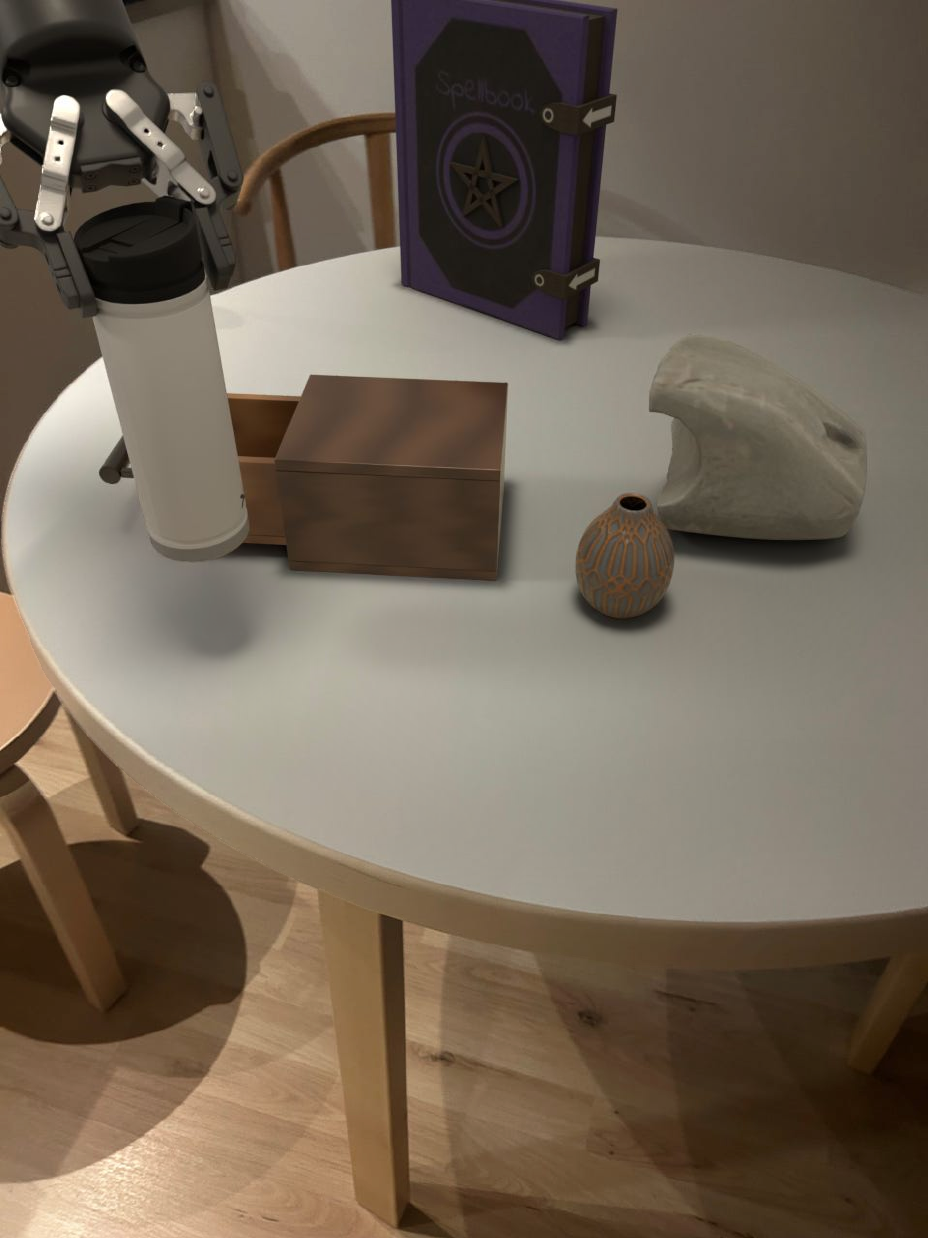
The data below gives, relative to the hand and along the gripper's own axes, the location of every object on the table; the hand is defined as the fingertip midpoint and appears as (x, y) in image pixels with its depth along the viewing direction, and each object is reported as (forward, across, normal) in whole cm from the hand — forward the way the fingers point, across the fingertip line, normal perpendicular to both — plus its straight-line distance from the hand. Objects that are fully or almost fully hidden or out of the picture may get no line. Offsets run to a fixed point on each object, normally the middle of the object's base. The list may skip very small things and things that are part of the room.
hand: (157, 296), depth 50 cm
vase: (+25, -26, -11) cm, 38 cm away
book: (-10, -46, -46) cm, 66 cm away
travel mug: (+11, 0, -13) cm, 17 cm away
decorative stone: (+22, -41, -13) cm, 49 cm away
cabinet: (+13, -17, -22) cm, 31 cm away
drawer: (+7, -7, -27) cm, 29 cm away
